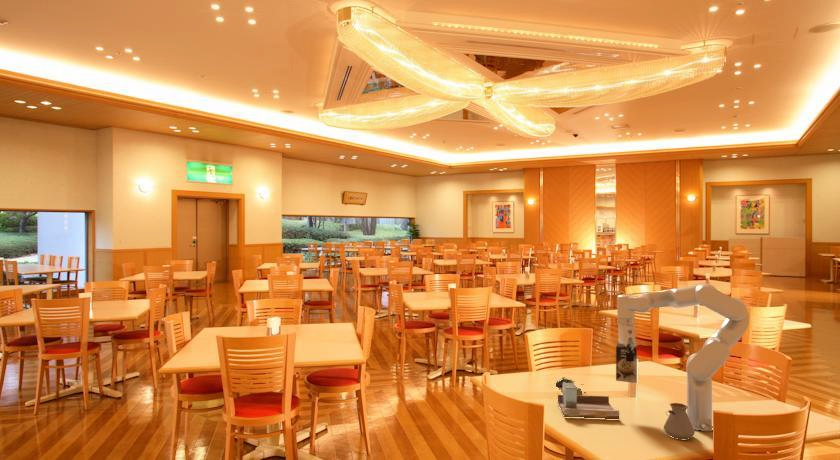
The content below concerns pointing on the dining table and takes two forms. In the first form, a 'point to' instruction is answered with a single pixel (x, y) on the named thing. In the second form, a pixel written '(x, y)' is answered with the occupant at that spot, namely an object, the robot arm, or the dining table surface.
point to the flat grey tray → (590, 407)
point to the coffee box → (625, 365)
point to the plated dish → (560, 385)
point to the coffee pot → (678, 422)
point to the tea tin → (569, 395)
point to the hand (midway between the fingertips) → (626, 358)
